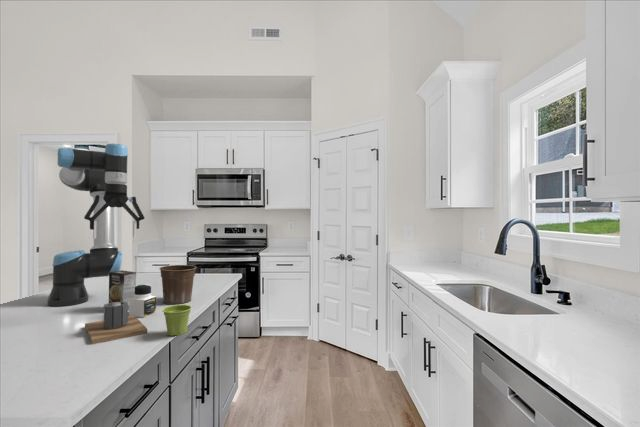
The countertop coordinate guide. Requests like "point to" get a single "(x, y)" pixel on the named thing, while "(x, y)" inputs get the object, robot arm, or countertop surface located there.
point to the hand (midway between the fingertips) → (115, 237)
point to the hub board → (114, 329)
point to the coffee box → (121, 286)
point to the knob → (115, 314)
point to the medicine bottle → (142, 302)
